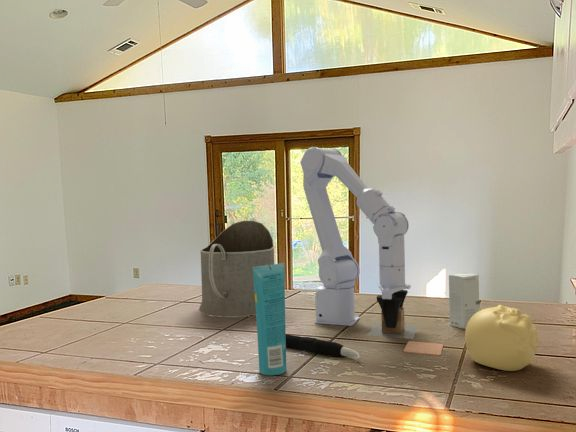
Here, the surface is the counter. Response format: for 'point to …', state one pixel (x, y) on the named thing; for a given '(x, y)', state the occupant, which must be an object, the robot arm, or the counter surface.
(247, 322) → the counter surface
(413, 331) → the tile
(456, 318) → the skincare box
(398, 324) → the walnut block
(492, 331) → the sculpture
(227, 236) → the grey fabric basket
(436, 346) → the pad
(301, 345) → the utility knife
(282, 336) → the tube
